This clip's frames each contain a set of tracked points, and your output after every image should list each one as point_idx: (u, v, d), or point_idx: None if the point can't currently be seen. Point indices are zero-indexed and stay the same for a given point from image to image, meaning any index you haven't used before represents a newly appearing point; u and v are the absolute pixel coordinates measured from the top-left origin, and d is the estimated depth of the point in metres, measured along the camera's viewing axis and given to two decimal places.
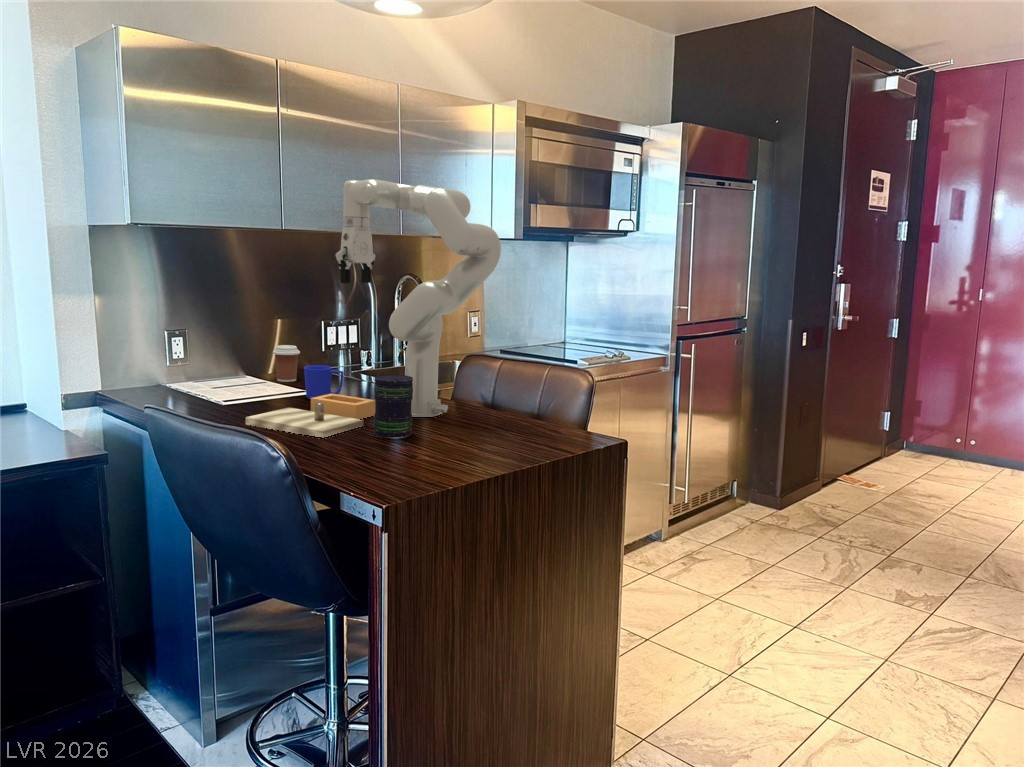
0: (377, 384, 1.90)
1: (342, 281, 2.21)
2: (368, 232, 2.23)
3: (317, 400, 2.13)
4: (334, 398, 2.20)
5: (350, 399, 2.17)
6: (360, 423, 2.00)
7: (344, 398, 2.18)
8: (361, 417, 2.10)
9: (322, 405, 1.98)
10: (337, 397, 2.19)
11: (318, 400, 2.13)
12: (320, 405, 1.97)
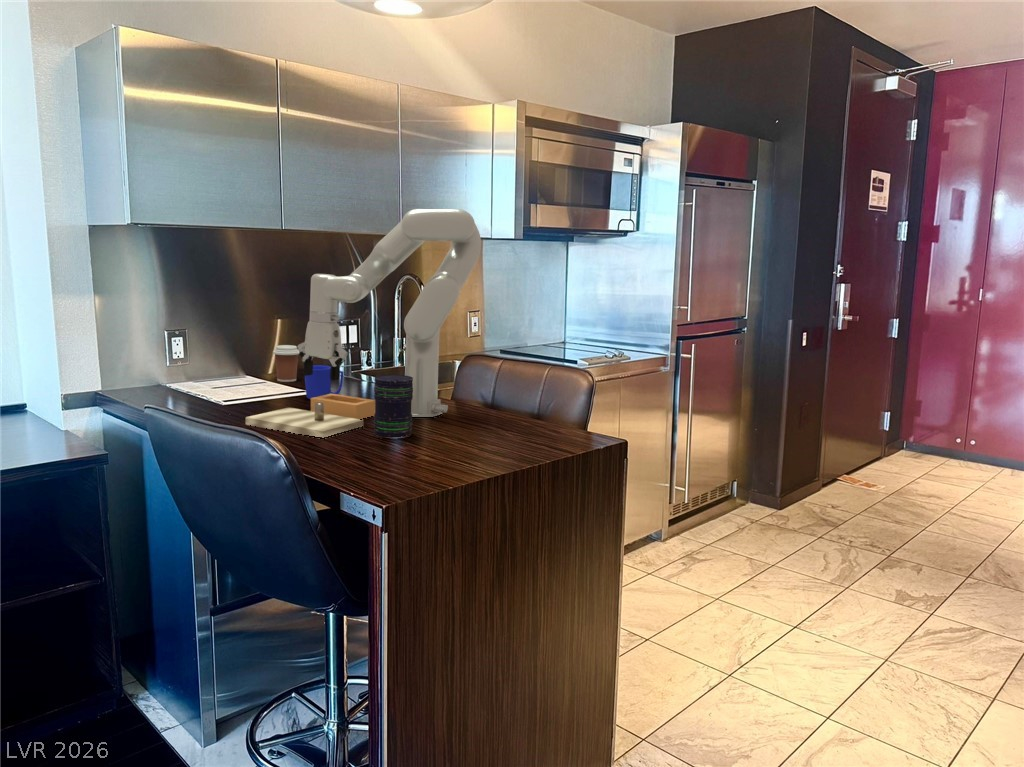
0: (377, 384, 1.90)
1: (333, 378, 2.14)
2: None
3: (317, 400, 2.13)
4: (334, 398, 2.20)
5: (350, 399, 2.17)
6: (360, 423, 2.00)
7: (344, 398, 2.18)
8: (361, 417, 2.10)
9: (322, 405, 1.98)
10: (337, 397, 2.19)
11: (318, 400, 2.13)
12: (320, 405, 1.97)
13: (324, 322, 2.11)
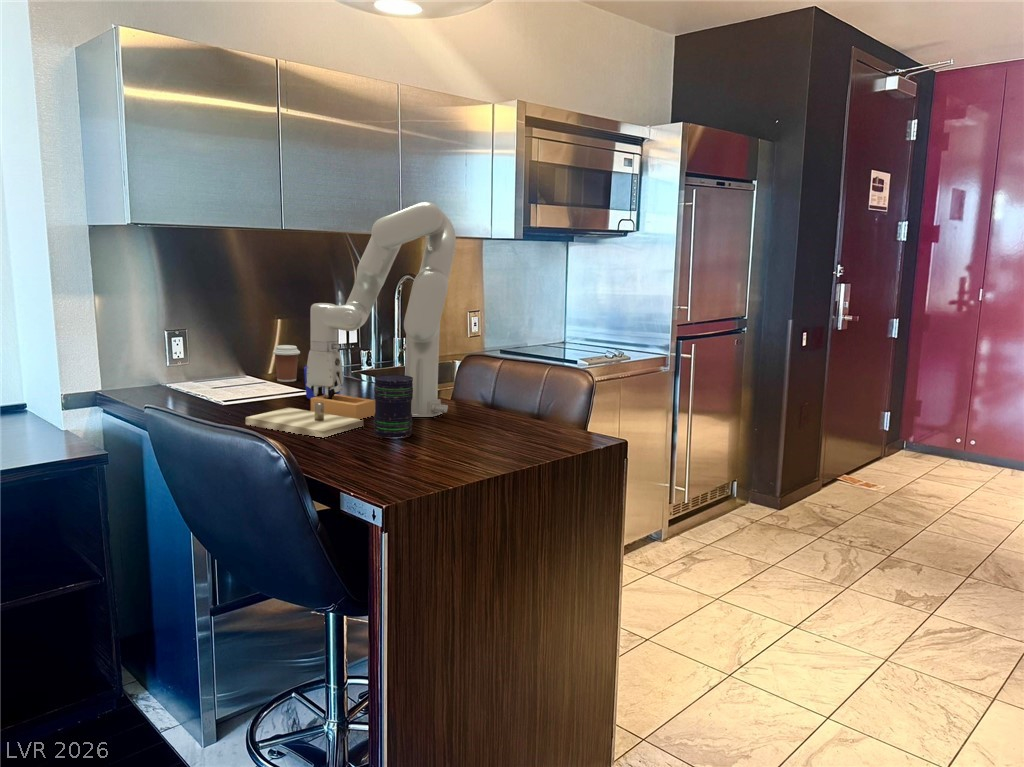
0: (377, 384, 1.90)
1: None
2: None
3: (317, 400, 2.13)
4: (334, 398, 2.20)
5: (350, 399, 2.17)
6: (360, 423, 2.00)
7: (344, 398, 2.18)
8: (361, 417, 2.10)
9: (322, 405, 1.98)
10: (337, 397, 2.19)
11: (318, 400, 2.13)
12: (320, 405, 1.97)
13: (325, 351, 2.12)
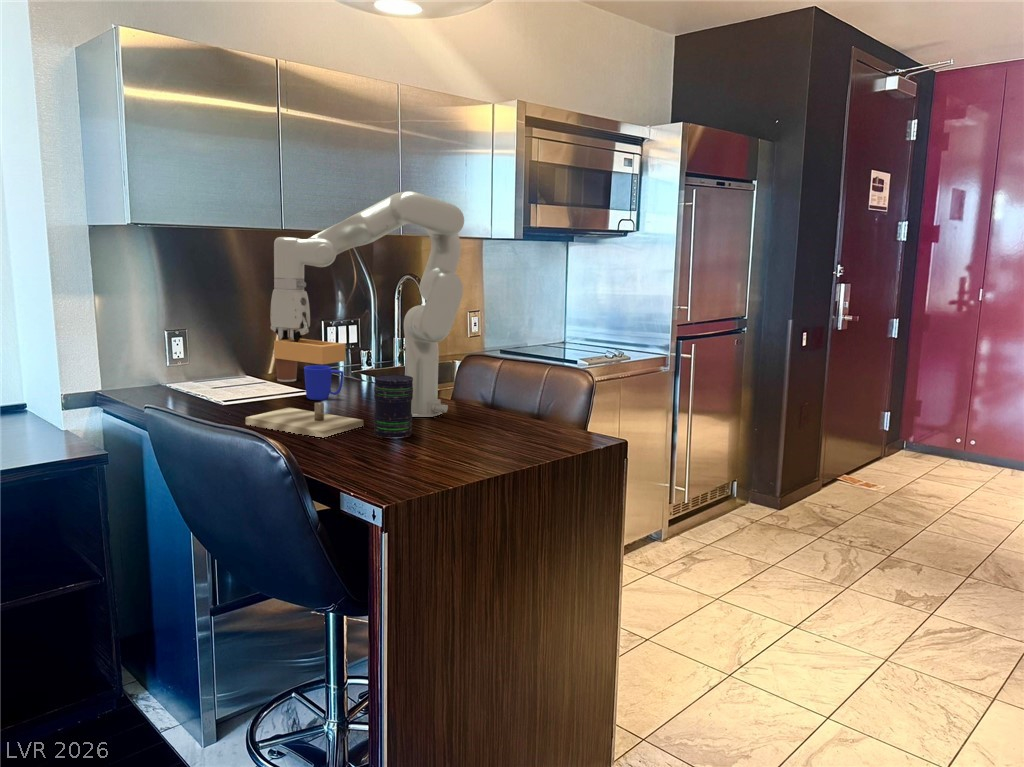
0: (377, 384, 1.90)
1: None
2: None
3: (281, 343, 1.95)
4: (300, 343, 2.01)
5: (317, 343, 1.99)
6: (360, 423, 2.00)
7: (311, 342, 2.00)
8: (328, 361, 1.92)
9: (322, 405, 1.98)
10: (304, 341, 2.01)
11: (282, 343, 1.95)
12: (320, 405, 1.97)
13: (290, 289, 1.94)
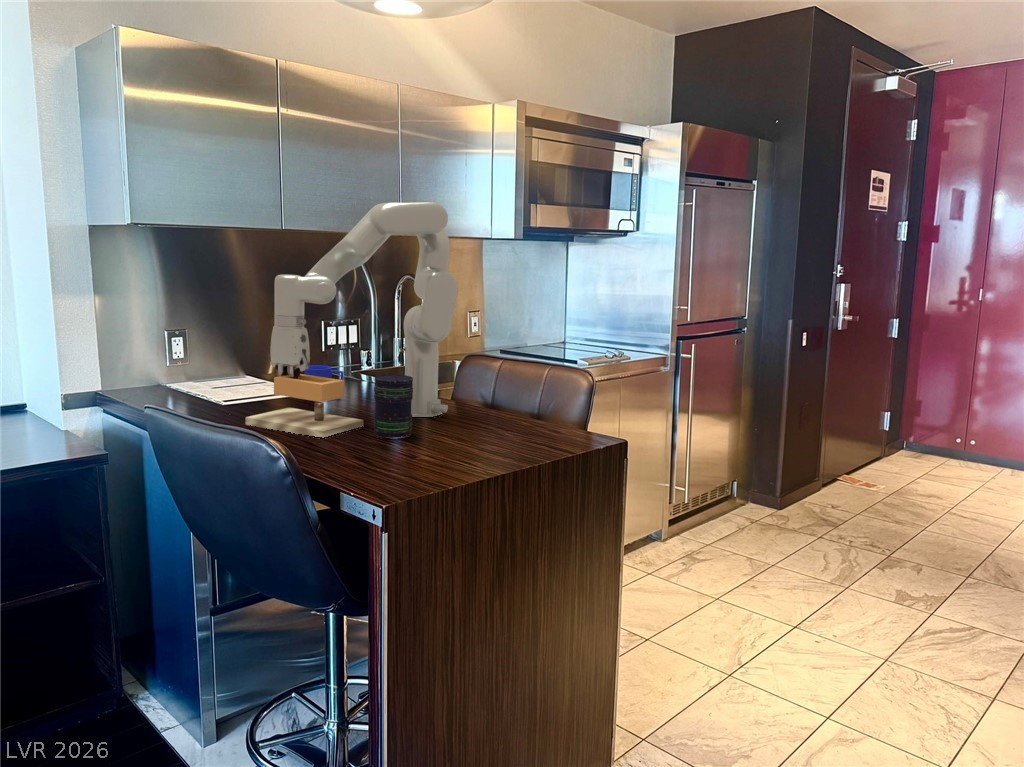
0: (377, 384, 1.90)
1: None
2: None
3: (281, 379, 1.97)
4: (300, 379, 2.03)
5: (317, 379, 2.00)
6: (360, 423, 2.00)
7: (311, 378, 2.01)
8: (327, 398, 1.94)
9: (322, 405, 1.98)
10: (303, 377, 2.02)
11: (282, 379, 1.97)
12: (320, 405, 1.97)
13: (290, 326, 1.96)
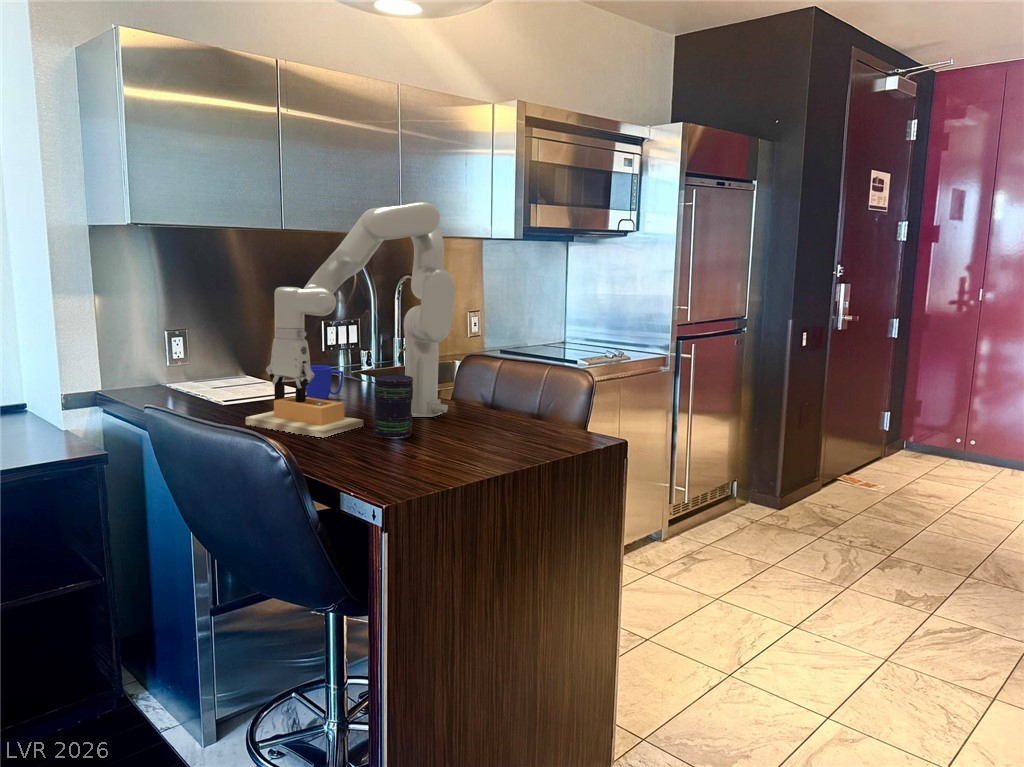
0: (377, 384, 1.90)
1: (299, 401, 2.00)
2: None
3: (280, 403, 1.98)
4: None
5: None
6: (360, 423, 2.00)
7: (310, 401, 2.03)
8: (327, 421, 1.95)
9: (322, 405, 1.98)
10: None
11: (281, 403, 1.98)
12: (320, 405, 1.97)
13: (290, 339, 1.96)
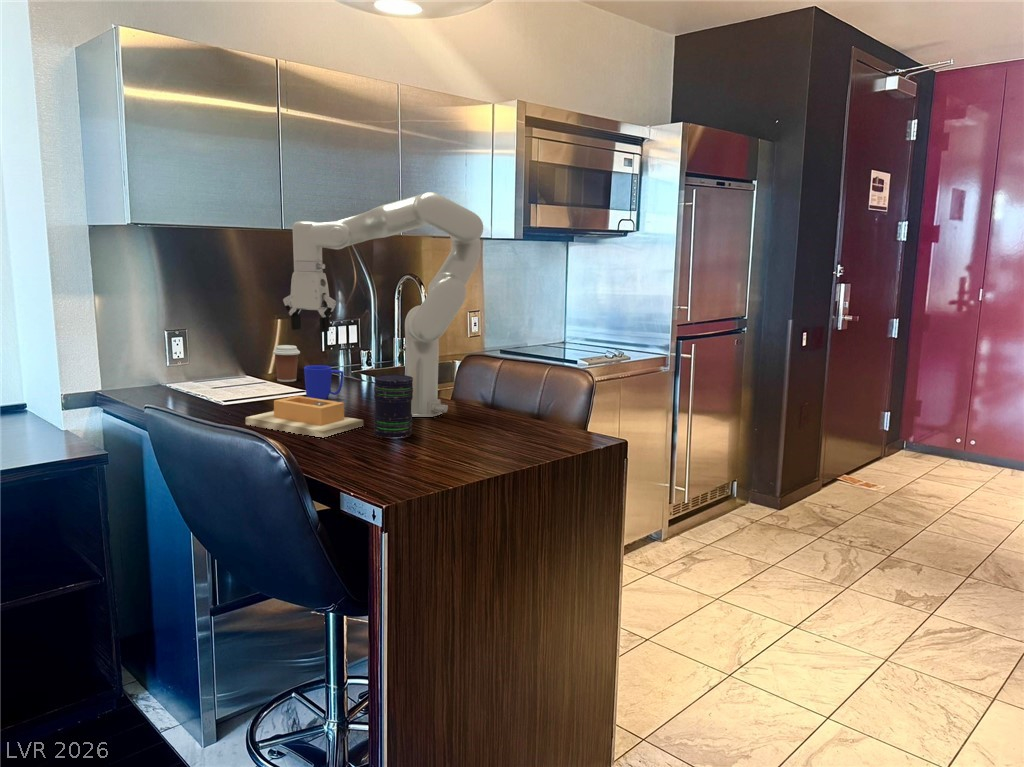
0: (377, 384, 1.90)
1: (323, 330, 2.05)
2: None
3: (280, 403, 1.98)
4: (299, 401, 2.04)
5: None
6: (360, 423, 2.00)
7: (310, 401, 2.03)
8: (327, 421, 1.95)
9: (322, 405, 1.98)
10: (303, 399, 2.04)
11: (281, 403, 1.98)
12: (320, 405, 1.97)
13: (310, 271, 2.02)
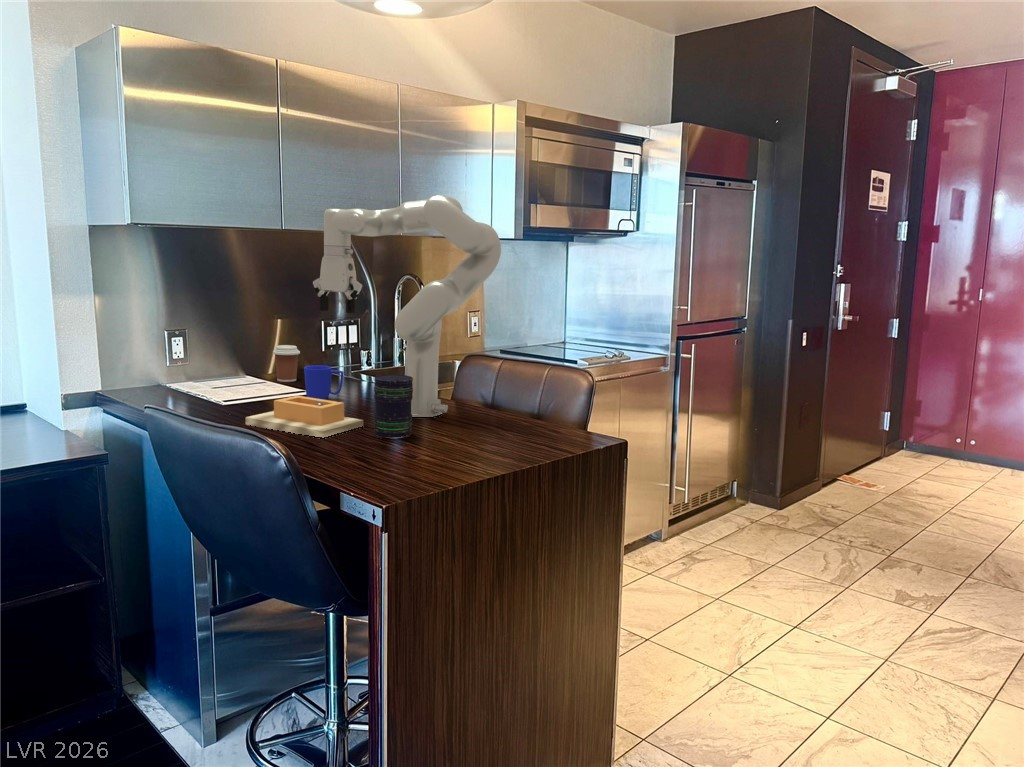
0: (377, 384, 1.90)
1: (349, 311, 2.19)
2: None
3: (280, 403, 1.98)
4: (299, 401, 2.04)
5: None
6: (360, 423, 2.00)
7: (310, 401, 2.03)
8: (327, 421, 1.95)
9: (322, 405, 1.98)
10: (303, 399, 2.04)
11: (281, 403, 1.98)
12: (320, 405, 1.97)
13: (338, 255, 2.16)
